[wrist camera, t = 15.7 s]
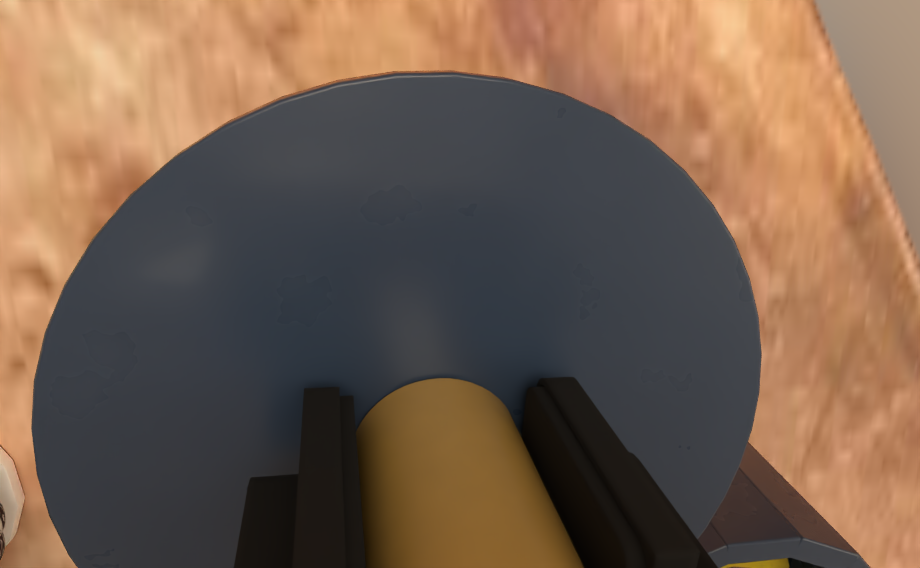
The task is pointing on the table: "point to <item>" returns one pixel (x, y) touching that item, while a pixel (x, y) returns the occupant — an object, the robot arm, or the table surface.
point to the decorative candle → (9, 500)
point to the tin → (772, 523)
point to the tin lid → (392, 324)
